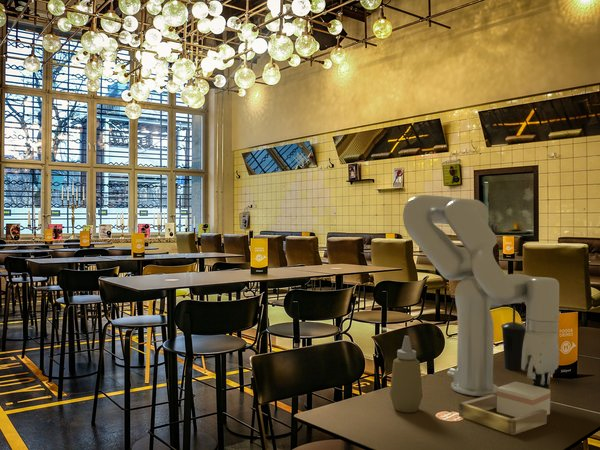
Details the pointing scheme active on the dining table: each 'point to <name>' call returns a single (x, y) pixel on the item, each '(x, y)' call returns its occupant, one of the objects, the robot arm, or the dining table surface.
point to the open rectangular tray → (479, 414)
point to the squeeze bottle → (406, 379)
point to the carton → (522, 399)
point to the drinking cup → (513, 343)
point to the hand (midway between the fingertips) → (540, 399)
